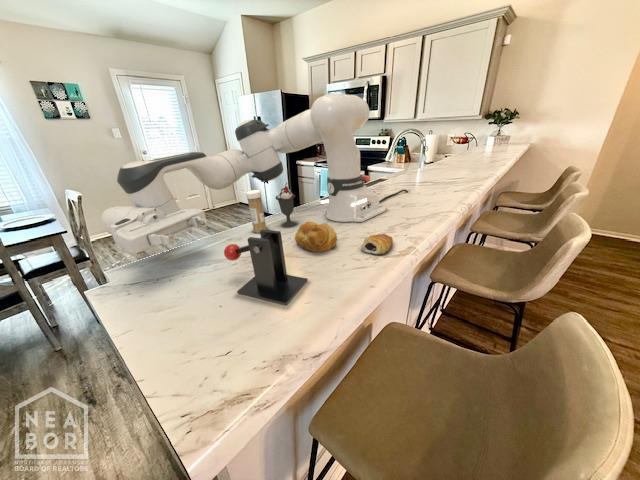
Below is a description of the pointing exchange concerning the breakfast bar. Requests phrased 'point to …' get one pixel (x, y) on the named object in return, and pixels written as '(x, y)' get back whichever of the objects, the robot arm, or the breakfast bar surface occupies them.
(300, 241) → the bread roll
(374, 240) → the pastry
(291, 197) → the sundae
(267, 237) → the switch lever
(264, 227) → the sprinkles bottle
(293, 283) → the switch base
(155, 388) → the breakfast bar surface
